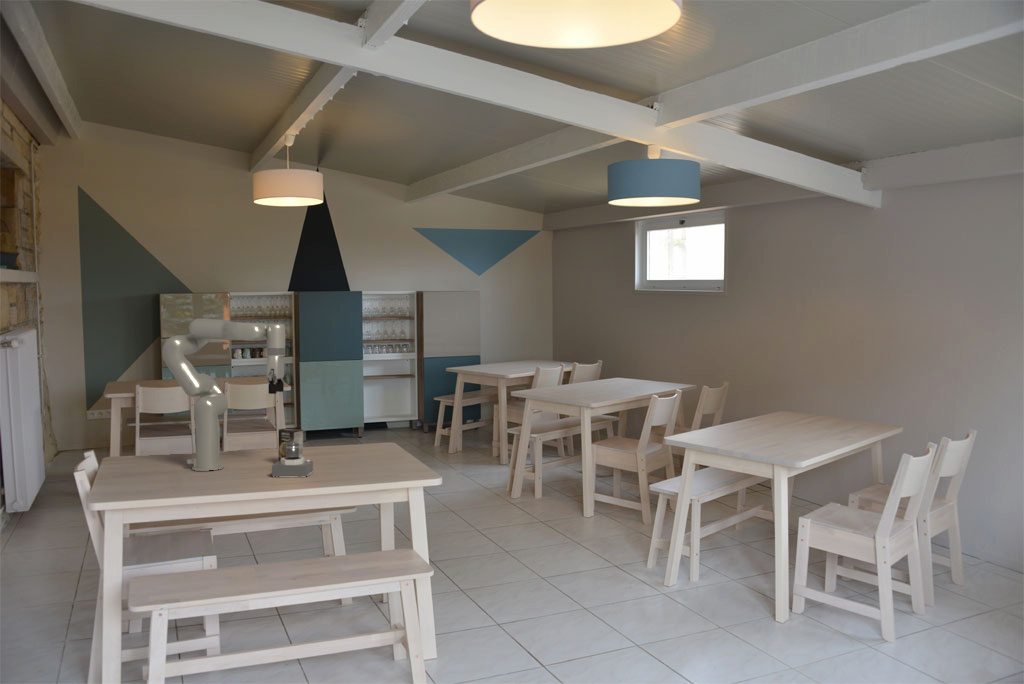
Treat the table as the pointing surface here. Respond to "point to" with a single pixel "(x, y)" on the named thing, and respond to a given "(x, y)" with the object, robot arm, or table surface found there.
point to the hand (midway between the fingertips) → (276, 392)
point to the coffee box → (290, 440)
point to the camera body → (292, 467)
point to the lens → (292, 451)
